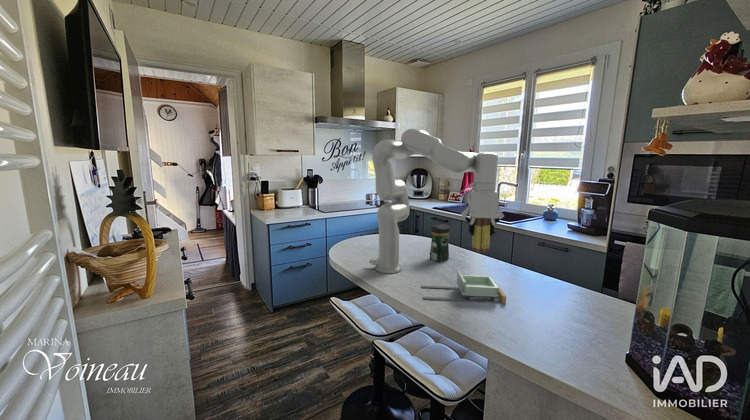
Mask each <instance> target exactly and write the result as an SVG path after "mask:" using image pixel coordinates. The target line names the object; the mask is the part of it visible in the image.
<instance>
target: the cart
mask: <svg viewBox="0 0 750 420" xmlns="http://www.w3.org/2000/svg"><path fill="white" fill-rule="evenodd" d="M456 275H457V276H456V284H457V287H459V289H460V290H459V291H460V292H461V295H462V296H464V297H465V298H466V299H471V297H474V296H476V297H488V298H489V300H496V297H497V298H498V293H499V288H500V286H499V285H498V284H497V282H496V281H495V280H493V278H492V277H491V275H474V274H473V275H469V274H468V275H467V274H464V275H463V274H462V272H461V271H460V270H457V273H456ZM495 282H496V283H495ZM496 284H497V285H498V286H499V287H498V286H497V285H496Z"/></svg>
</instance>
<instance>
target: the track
mask: <svg viewBox="0 0 750 420" xmlns="http://www.w3.org/2000/svg"><path fill="white" fill-rule="evenodd" d="M494 282H495V283H496V285H497V286H498V287H499V293H498V297H497V299H494V300H490V299H484V298H470V299H466V298H464V297H463V298H461V297H444V296H443V297H441V296H440V297H438V296H436V297H435V296H422V300H424V301H425V300H427V301H447V302H449V301H450V302H466V303H467V302H470V303H473V302H474V303H494V304H502V305H506V303H507V295H506V294H505V293H504V291H503V290H502V289H501V288H500V286H499V285H498V284H497V282H496V281H494ZM420 289H435V290H436V289H437V290H439V289H440V290H459V291H460V289H459V287H458V286H444V285H443V286H442V285H420Z"/></svg>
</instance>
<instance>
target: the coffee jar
mask: <svg viewBox="0 0 750 420" xmlns="http://www.w3.org/2000/svg"><path fill="white" fill-rule="evenodd" d="M450 233H451V229H450V225H449V224H445V223H443V224H441V223H440V224H435V225H432V226H431V227H430V236H431V244H430V252H429V259H430V260H431V261H433V262H439V263H440V262H444V261H447V260H449V259H450V251H449V248H450V247H449V240H450Z"/></svg>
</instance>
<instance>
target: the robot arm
mask: <svg viewBox="0 0 750 420" xmlns="http://www.w3.org/2000/svg"><path fill="white" fill-rule="evenodd" d="M416 154H419V155H421V156H423V157H425V158H427V159H430V161H432V162H433V163H435V164H436V165H437V166H440V167H442V168H444V169H446V170H449V171H451V172H453V173H456V174H461V173H473V172H474V178H473V182H472V183H470V184H469V188H472V190H471V192H470V196H469V200H468V206H467V207H466V208H465V209H464V211H462V212H461V213H460V215H461V216H462V218H463V219H464V220H465V221H466V222H467V223H468V233H469V234H470V235H471V236H472V235H474V225H473V224H474V221H475V219H476V218H488V219H490V237H492V236H493V234H494V230H495V226H496V224H497V223H499V222H500V220H501V219H503V218H505V215H504V213H502V211H501V210H500V209H499V208H500V207H499V204H500V203H499V193H498V191H497V190H496V185H497V174H498V173H497V172H498V160H499V156H498V154H497V153H495V152H478V153H477V152H470V151H469V152H468V151H459V150H456V149H454V148H451V147H449V146H447V145H444V144H443V143H442V140H441V139H440V138H438V137H435V136H433V135H430V134H429V133H428V132H427V131H426V130H424V129H417V128H409V129H406V130H405V131H404V132H403V133H401V137H400V140H396V139H383V140H381V141H379V142H378V143H377V144H376V145H375V146H374V148H373V151H372V155H371V159H372V165H373V168H374V173H375V175H374V176H375V184H376V190H377V196H378V198H379V199H380V200H381V201H391V202H389V203H384V204H382V205H381V206H379V208H378V209H377V213H376V217H377V218H376V219H377V223H378V258H375V259H371V258H370V259H369V260H368V261H369V264H371V265H372V266H375V270H376V271H377V272H379V273H383V274H396V273H399V272H401V271H402V270H403V268H402V267H403V266H402V265H401V264H400V263H399V258H400V229H399V226H398V222H402V221H405V220H406V219H408V217H409V215H410V211H411V210H410V201H409V193H408V187H407V185H406V183H405V182H404V181H403V180H402V179H400V178H395V171H394V168H393V166H392V164H391V161H390V160H405V159H407V158H409V157H410V156H413V155H416ZM468 216H469V217H468Z"/></svg>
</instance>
